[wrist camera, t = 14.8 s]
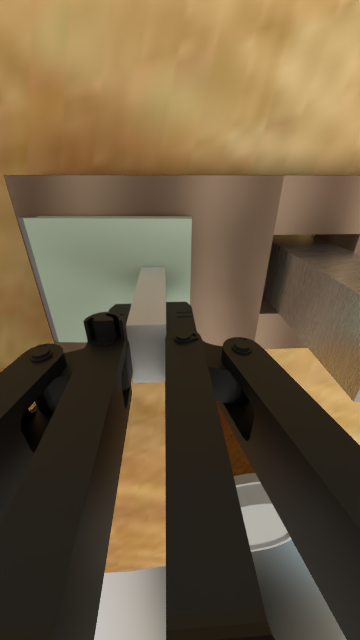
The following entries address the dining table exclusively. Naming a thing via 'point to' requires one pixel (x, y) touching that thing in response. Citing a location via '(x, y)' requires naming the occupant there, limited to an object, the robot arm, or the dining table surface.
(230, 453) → the disposable coffee cup
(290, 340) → the walnut block
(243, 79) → the dining table surface
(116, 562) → the dining table surface
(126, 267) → the plate
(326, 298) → the steel pin
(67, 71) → the dining table surface
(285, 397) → the robot arm
